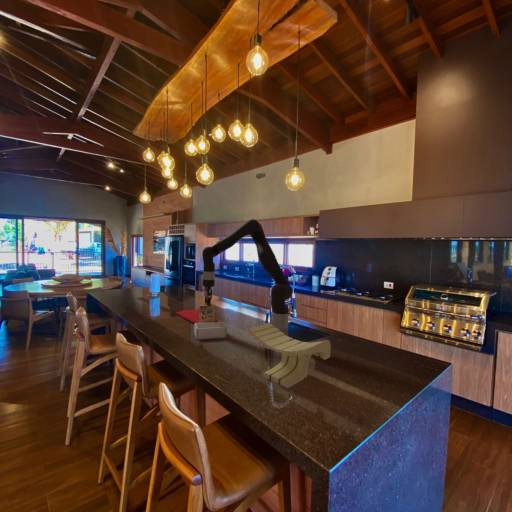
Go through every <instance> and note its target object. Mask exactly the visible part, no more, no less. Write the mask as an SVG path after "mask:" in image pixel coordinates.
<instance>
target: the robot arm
mask: <svg viewBox="0 0 512 512" xmlns="http://www.w3.org/2000/svg"><path fill="white" fill-rule="evenodd" d="M246 236H250V238H251V239H252V241H253V243H254V244H255V246H256V251H257V257H258V259H259V262H260V265H261V266H262V268H263V269H264V270H265V271H266V273H267V274H268V275H269V276H270V277H271V278H272V279H273V281H274V285H273V286H272V288H271V290H270V307H271V323H270V324H272V325H274V326H275V328H277V329H279V330H280V332H282V333H284V334H285V335H286V336H288V337H289V315H290V314H289V312H290V311H289V307H288V306H286V300H289V299H291V297H292V296H293V289H292V286H291V285H290V283H289V281H288V279H287V278H286V276H285V274H284V272H283V270H282V268H281V266H280V264H279V262H278V260H277V257H276V255H275V252H274V251H273V249H272V247H271V245H270V243H269V242H268V240H267V237H266V235H265V232H264V228H263V226H262V224H261V223H260V222H259V221H258V220H257V219H253V218H252V219H249V220H247V221H246V222H244V223H243V224H242V225H241V226H240V227H238V228H237V229H236V230H235V231H233V232H231V233H230V234H229V235H226V236H225V237H224V238H222V239H220V240H218V241H216V243H215V244H213V245H212V246H205V247H204V248H203V250H202V261H203V262H202V263H203V268H202V269H203V271H202V281H201V282H202V284H201V285H202V287H204V289H203V291H204V294H203V295H204V303H205V304H206V305H207V306H210V305H212V303H211V301H212V298H213V289H212V287H215V282H216V281H215V279H216V265H215V262H214V258H215V257H217V256H218V255H220V254H222V252H224V251H227V250H229V249H230V248H232V247H233V246H234V245H236V243H237V242H239V241H240V240H241V239H242V238H244V237H246Z"/></svg>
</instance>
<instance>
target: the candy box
mask: <svg viewBox="0 0 512 512" xmlns="http://www.w3.org/2000/svg"><path fill="white" fill-rule="evenodd" d="M215 307H216V305H215V304H211V305H210V306H207V304H200V305H199V312H200V317H199V323H207V322H214V318H215V310H216V309H215Z"/></svg>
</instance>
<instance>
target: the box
mask: <svg viewBox="0 0 512 512" xmlns="http://www.w3.org/2000/svg"><path fill="white" fill-rule="evenodd" d="M227 330H228V329H227V326H226V325H225V323H224V322H223V321H219V322H207V323H193V334H194V338H195V340H197V341H198V340H207V339H208V340H210V339H223V338H224V339H225V338H227V332H228V331H227Z"/></svg>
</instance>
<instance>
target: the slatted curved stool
mask: <svg viewBox="0 0 512 512" xmlns="http://www.w3.org/2000/svg"><path fill="white" fill-rule="evenodd" d="M248 335H249V336H252V337H253V340H256V341H257V340H258V343H259V344H261V345H262V344H263V348H266V349H268V350H272V351H274V352H277V353H281V360H280V362H279V363H277V365H276V366H274V367H272V368H271V369H268V370H266V371H264V372H263V374H262V377H263V378H265V379H267V380H270V381H271V382H273V383H276V384H277V385H280V386H282V387H285V388H287V389H289V388H291V387H293V386H294V385H296V384H298V383H300V382H302V381H303V380H305V379H306V378H307V377H308V374H309V373H308V372H309V365H310V364H309V363H310V360H311V357H312V356H316V357H319V358H321V359H323V360H324V361H326V360H327V359H329V358H331V350H332V349H331V347H332V345H331V341H330V340H329V339H325V340H321V341H318V342H315V341H313V342H306V341H301V340H298V339H296V338H295V339H294V338H292V337H290V336H289V335H288V336H286V335H285V334H284V333H282V332H280V330H279V329H277V328H275V326H274V325H272V324H271V323H265V324H260V325H256V326H253V327H249V328H248ZM305 377H306V378H305ZM304 378H305V379H304Z"/></svg>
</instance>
